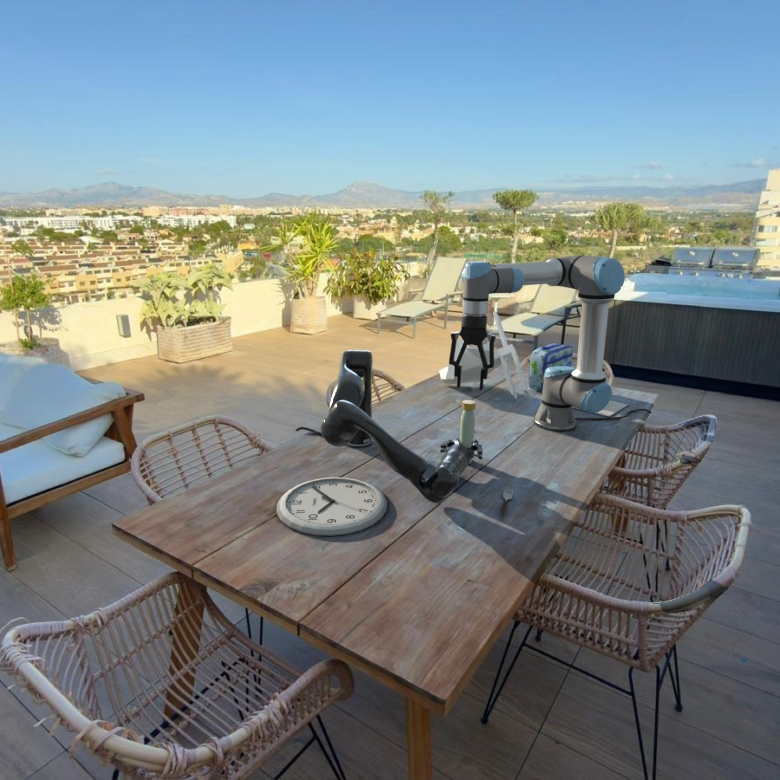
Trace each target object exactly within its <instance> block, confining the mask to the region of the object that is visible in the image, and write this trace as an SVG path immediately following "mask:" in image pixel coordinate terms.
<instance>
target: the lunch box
mask: <svg viewBox="0 0 780 780" xmlns="http://www.w3.org/2000/svg"><path fill="white" fill-rule="evenodd" d="M573 356H574V355H573V347H572V346H571V345H566V344H560V343H551V344H548V345H544V346H541V347H538V348H536V349H534V350H533V351H532V353H531V355H530V359H529V370H528V371H529V372H528V389H531V390H536V391H541V392H542V390H543V378H544V375H545V370H546V369H547V368H549V367H555V366H568V367H572V365H573V363H572V362H573Z"/></svg>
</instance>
